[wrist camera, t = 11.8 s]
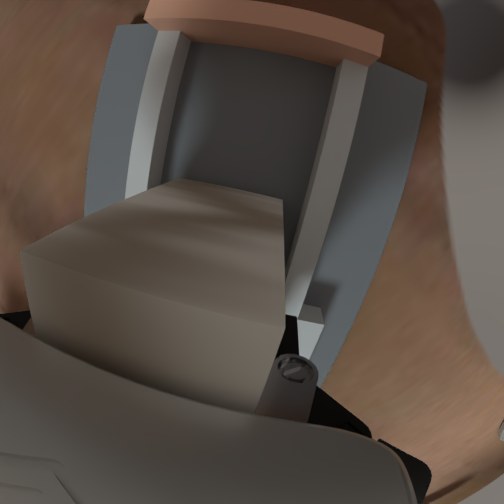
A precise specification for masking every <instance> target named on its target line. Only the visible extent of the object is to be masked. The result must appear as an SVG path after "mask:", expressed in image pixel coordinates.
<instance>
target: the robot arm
mask: <svg viewBox="0 0 504 504" xmlns="http://www.w3.org/2000/svg"><path fill="white" fill-rule="evenodd" d="M318 377H319V375H318V370H317V367H316V366H315V365H314V364H313V363H312V362H311V361H310V360H308V359H307V358H305V357H303V356H300V355H299V340H298V324H297V317H296V316H292V315H287V314H285V331H284V334H283V337H282V339H281V342H280V345H279V348H278V351H277V354H276V356H275V359H274V362H273V365H272V367H271V370H270V373H269V376H268V378H267V381H266V384H265V386H264V389H263V392H262V394H261V397H260V399H259V402H258V405H257V407H256V410H255V412H254V414H252V413H247V412H242V411H237V410H233V409H228V408H224V407H220V406H216V405H211V404H208V403H204V402H200V401H196V400H193V399H189V398H185V397H182V396H179V395H175V394H172V393H169V392H166V391H162V390H159V389H156V388H153V387H150V386H147V385H144V384H141V383H139V382H136V381H133V380H130V379H128V378H125V377H122V376H120V375H117V374H115V373H112V372H109V371H107V370H105V369H102V368H100V367H97V366H95V365H93V364H90V363H88V362H86V361H83V360H81V359H79V358H77V357H75V356H72V355H70V354H68V353H66V352H64V351H62V350H60V349H58V348H56V347H54V346H52V345H50V344H48V343H46V342H44V341H42V340H40V339H38V338H37V337H36V333H35V330H34V326H33V322H32V317H31V313H30V311H22V312H14V313H7V314H0V504H422V503H423V500H424V498H425V495H426V493H427V490H428V488H429V485H430V482H431V478H432V474H431V470H430V468H429V467H428V465H427V464H425V463H424V462H423V461H421V460H419V459H417V458H415V457H413V456H411V455H409V454H407V453H405V452H404V451H402V450H400V449H398V448H396V447H394V446H392V445H391V444H389V443H387V442H385V441H383V440H382V439H380V438H379V439H378V440H377V441H376V440H374V439H372V436H371V432H370V430H369V428H368V427H367V426H366V425H365V424H364V423H363V422H362V421H361V420H359V419H358V418H357V417H356V416H354V415H353V414H352V413H350V412H349V411H348V410H347V409H345V408H344V407H343V406H342V405H340V404H339V403H338V402H337V401H335V400H334V399H333V398H332V397H330V396H329V395H328V394H327V393H325V392H324V391H323V390H322V389H320V388H319V387H318V386H317V381H318ZM498 435H499V437H500V439H501V441H504V421H503V423H502V425H501V427H500V429H499V432H498Z"/></svg>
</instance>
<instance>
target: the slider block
mask: <svg viewBox="0 0 504 504" xmlns="http://www.w3.org/2000/svg"><path fill="white" fill-rule="evenodd" d="M20 253H21V261H22V269H23V276H24V282H25V288H26V293H27V299H28V304H29V308H30V313H31V317H32V322H33V326H34V330H35V333H36V337H37V338H38V339H40V340H42V341H44V342H46V343H48V344H50V345H52V346H54V347H56V348H58V349H60V350H62V351H64V352H66V353H68V354H70V355H72V356H75V357H77V358H79V359H81V360H83V361H86V362H88V363H90V364H93V365H95V366H97V367H100V368H102V369H105V370H107V371H109V372H112V373H115V374H117V375H120V376H122V377H125V378H128V379H130V380H133V381H136V382H139V383H141V384H144V385H147V386H150V387H153V388H156V389H159V390H162V391H166V392H169V393H172V394H175V395H179V396H182V397H185V398H189V399H193V400H196V401H200V402H204V403H208V404H211V405H216V406H220V407H224V408H228V409H233V410H237V411H242V412H247V413H252V414H254V412H255V410H256V407H257V405H258V402H259V399H260V397H261V394H262V392H263V389H264V386H265V384H266V381H267V378H268V376H269V373H270V370H271V367H272V365H273V362H274V359H275V356H276V354H277V351H278V348H279V345H280V342H281V339H282V337H283V334H284V331H285V261H284V225H283V200H282V199H278V198H274V197H270V196H265V195H261V194H257V193H252V192H248V191H243V190H239V189H234V188H230V187H225V186H220V185H215V184H210V183H205V182H200V181H195V180H190V179H185V178H178V179H175V180H172V181H169V182H167V183H164V184H162V185H159V186H156V187H154V188H151V189H149V190H146V191H144V192H141V193H139V194H136V195H134V196H132V197H129V198H127V199H124V200H122V201H120V202H117V203H115V204H113V205H110V206H108V207H106V208H104V209H101V210H99V211H97V212H95V213H93V214H90V215H88V216H86V217H84V218H82V219H80V220H78V221H76V222H74V223H71V224H69V225H67V226H65V227H63V228H61V229H59V230H57V231H55V232H53V233H51V234H49V235H48V236H46V237H44V238H42V239H40V240H38V241H36V242H34V243H32V244H31V245H29V246H27V247H25V248H23V249H21V250H20Z"/></svg>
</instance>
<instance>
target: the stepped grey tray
mask: <svg viewBox="0 0 504 504" xmlns="http://www.w3.org/2000/svg"><path fill="white" fill-rule="evenodd" d="M143 19H144V20H145V21H147V22H148V23H146V24H129V25H118V26H117V28H116V31H115V34H114V37H113V40H112V43H111V47H110V50H109V54H108V57H107V61H106V65H105V69H104V73H103V77H102V81H101V85H100V90H99V95H98V99H97V105H96V110H95V115H94V121H93V127H92V134H91V141H90V148H89V157H88V166H87V177H86V190H85V208H84V217H86V216H88V215H90V214H93V213H95V212H97V211H99V210H101V209H104V208H106V207H108V206H110V205H113V204H115V203H117V202H120V201H122V200H124V199H127V198H129V197H132V196H134V195H136V194H139V193H141V192H144V191H146V190H149V189H151V188H154V187H156V186H159V185H162V184H164V183H167V182H169V181H172V180H175V179H178V178H185V179H190V180H195V181H200V182H205V183H210V184H215V185H220V186H225V187H230V188H234V189H239V190H243V191H248V192H252V193H257V194H261V195H265V196H270V197H274V198H278V199H282V200H283V225H284V261H285V314H287V315H292V316H296V317H297V324H298V340H299V355H300V356H303V357H305V358H307V359H308V360H310V361H311V362H312V363H313V364H314V365H315V366H316V367H317V370H318V375H319V377H318V381H317V386H318V387H319V388H320V387H321V385H322V384H323V382H324V380H325V378H326V376H327V374H328V373H329V371H330V369H331V367H332V365H333V363H334V361H335V359H336V357H337V355H338V353H339V351H340V349H341V347H342V345H343V343H344V341H345V339H346V337H347V335H348V333H349V331H350V329H351V327H352V324H353V322H354V320H355V318H356V316H357V313H358V311H359V309H360V307H361V304H362V302H363V300H364V298H365V295H366V293H367V290H368V288H369V286H370V283H371V281H372V278H373V276H374V273H375V271H376V268H377V266H378V263H379V261H380V258H381V255H382V253H383V250H384V247H385V244H386V242H387V239H388V236H389V233H390V230H391V227H392V224H393V221H394V218H395V215H396V212H397V209H398V206H399V203H400V199H401V196H402V193H403V189H404V186H405V183H406V179H407V175H408V172H409V168H410V164H411V160H412V156H413V152H414V148H415V144H416V140H417V136H418V131H419V126H420V122H421V117H422V112H423V106H424V101H425V95H426V89H427V83H425V82H423V81H421V80H419V79H417V78H415V77H413V76H411V75H409V74H406V73H404V72H402V71H400V70H397V69H395V68H392V67H390V66H388V65H385V64H383V63H380V62H377V61H376V60H378V59H379V58H380V57H381V52H382V46H383V39H384V34H382V33H380V32H377V31H374V30H372V29H369V28H366V27H363V26H360V25H357V24H354V23H351V22H348V21H345V20H342V19H338V18H335V17H332V16H328V15H324V14H320V13H317V12H312V11H308V10H304V9H299V8H295V7H290V6H284V5H279V4H273V3H267V2H260V1H252V0H150V2H149V4H148V7H147V10H146V13H145V15H144V18H143Z"/></svg>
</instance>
